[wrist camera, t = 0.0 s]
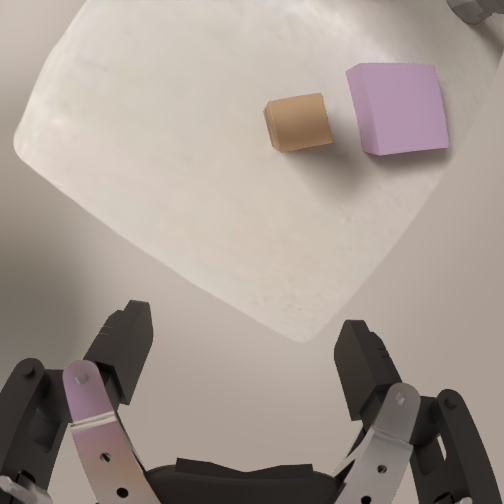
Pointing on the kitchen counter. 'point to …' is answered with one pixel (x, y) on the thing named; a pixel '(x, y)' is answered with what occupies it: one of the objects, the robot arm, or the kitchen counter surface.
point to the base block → (398, 107)
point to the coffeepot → (476, 9)
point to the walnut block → (297, 122)
